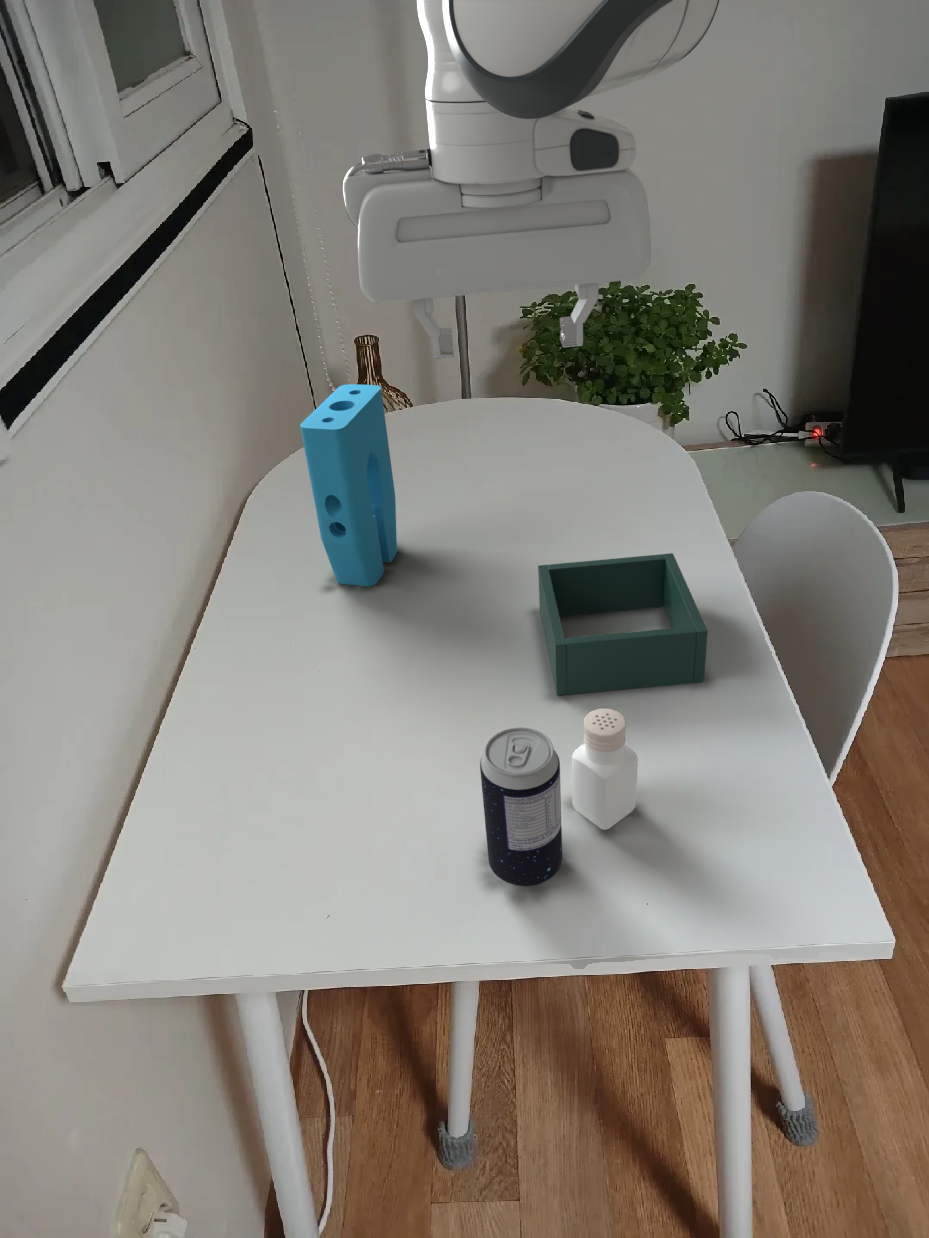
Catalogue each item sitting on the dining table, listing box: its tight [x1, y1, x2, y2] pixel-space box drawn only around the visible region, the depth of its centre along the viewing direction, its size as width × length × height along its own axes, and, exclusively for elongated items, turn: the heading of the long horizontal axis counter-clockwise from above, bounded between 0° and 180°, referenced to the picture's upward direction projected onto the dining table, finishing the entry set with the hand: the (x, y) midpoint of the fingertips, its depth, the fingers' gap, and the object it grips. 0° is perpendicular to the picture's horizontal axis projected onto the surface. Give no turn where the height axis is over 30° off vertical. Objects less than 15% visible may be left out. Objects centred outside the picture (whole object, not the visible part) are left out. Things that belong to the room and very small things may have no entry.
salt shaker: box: [571, 708, 639, 831], centre depth 75 cm, size 4×4×10 cm
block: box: [299, 383, 398, 587], centre depth 107 cm, size 12×5×20 cm, turn 164°
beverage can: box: [479, 726, 563, 887], centre depth 70 cm, size 6×6×12 cm
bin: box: [537, 552, 709, 697], centre depth 94 cm, size 14×14×6 cm
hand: (507, 350), depth 70 cm, fingers open, 8 cm apart
